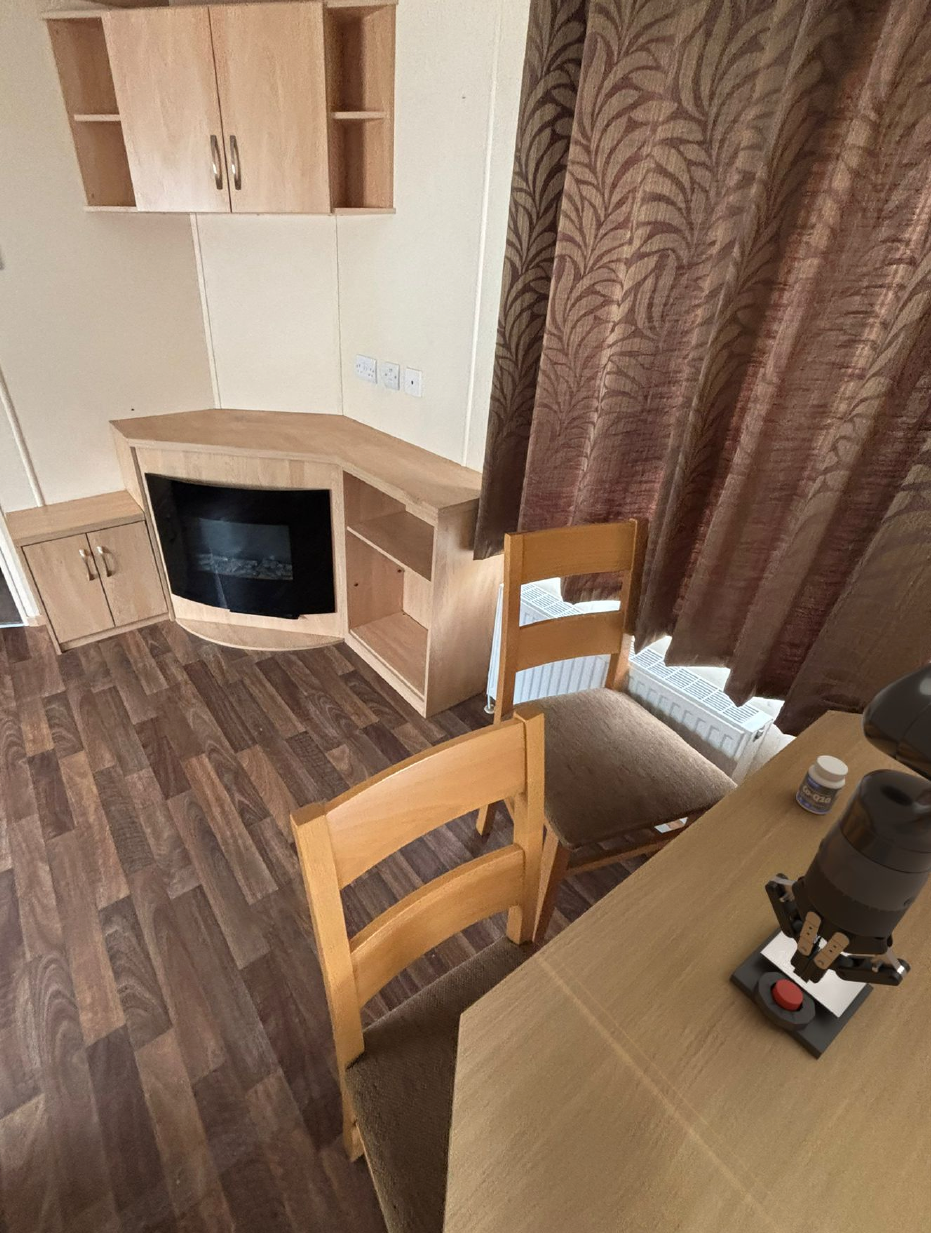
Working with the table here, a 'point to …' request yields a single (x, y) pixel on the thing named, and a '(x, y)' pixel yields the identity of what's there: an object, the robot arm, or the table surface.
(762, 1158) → the table surface
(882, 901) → the robot arm
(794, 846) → the table surface
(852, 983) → the pan
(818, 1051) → the scale
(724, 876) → the table surface
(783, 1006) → the tare button
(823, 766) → the pill bottle
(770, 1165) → the table surface
